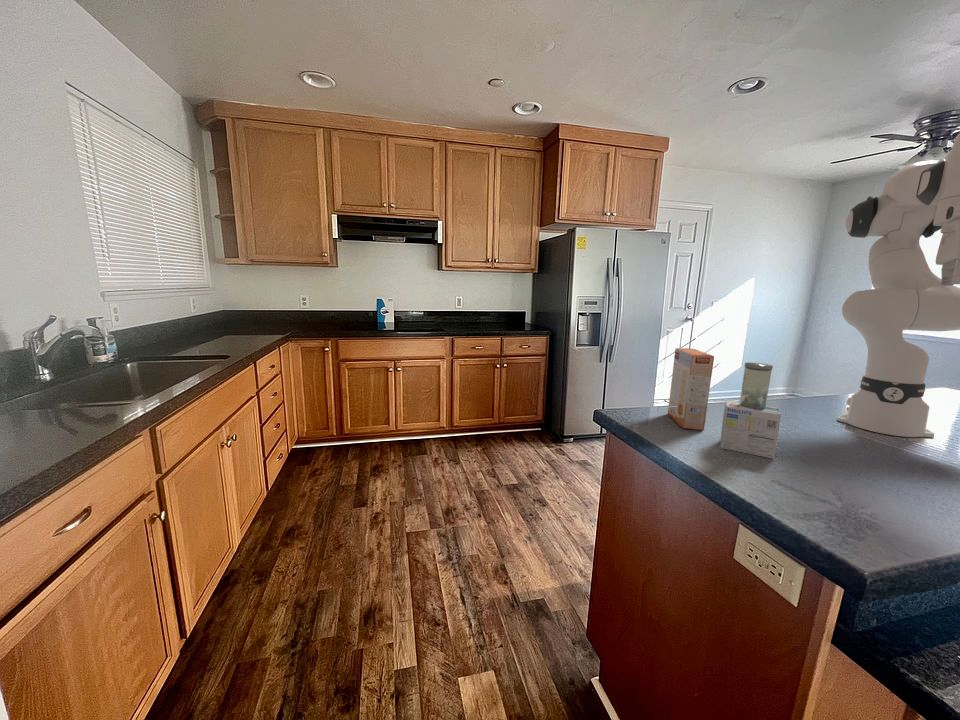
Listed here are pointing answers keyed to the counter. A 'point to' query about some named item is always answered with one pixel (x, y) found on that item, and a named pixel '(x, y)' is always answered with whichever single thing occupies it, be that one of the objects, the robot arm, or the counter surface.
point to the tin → (755, 385)
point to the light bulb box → (750, 429)
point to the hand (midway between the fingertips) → (952, 285)
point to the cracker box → (690, 387)
